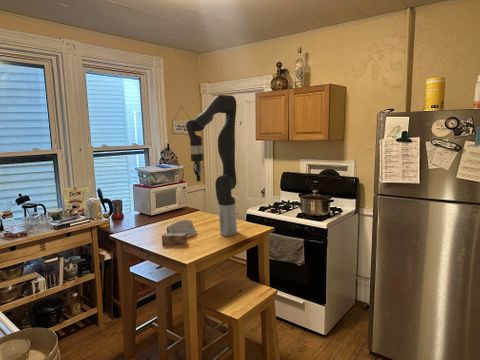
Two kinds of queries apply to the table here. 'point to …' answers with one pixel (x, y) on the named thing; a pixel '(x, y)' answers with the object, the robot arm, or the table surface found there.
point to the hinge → (182, 228)
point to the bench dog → (174, 239)
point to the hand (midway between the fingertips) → (198, 181)
